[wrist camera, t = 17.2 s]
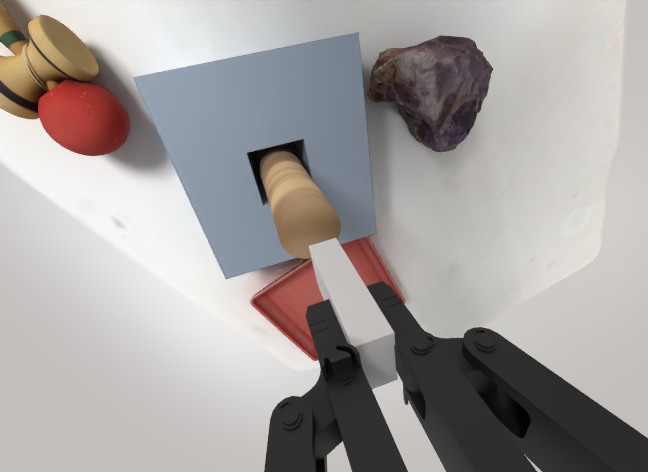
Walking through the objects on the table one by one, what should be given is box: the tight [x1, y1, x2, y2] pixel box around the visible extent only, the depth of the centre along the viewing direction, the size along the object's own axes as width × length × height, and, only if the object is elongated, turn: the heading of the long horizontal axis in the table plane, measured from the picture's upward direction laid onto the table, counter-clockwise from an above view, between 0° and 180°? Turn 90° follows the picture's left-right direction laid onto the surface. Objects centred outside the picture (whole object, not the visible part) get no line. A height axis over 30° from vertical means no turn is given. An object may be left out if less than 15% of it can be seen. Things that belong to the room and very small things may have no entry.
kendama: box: [0, 3, 130, 156], centre depth 22 cm, size 8×6×18 cm
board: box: [133, 32, 376, 279], centre depth 31 cm, size 20×18×6 cm
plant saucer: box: [250, 236, 406, 361], centre depth 45 cm, size 18×18×3 cm
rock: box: [367, 36, 493, 152], centre depth 31 cm, size 12×9×10 cm
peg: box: [256, 143, 341, 259], centre depth 26 cm, size 4×4×18 cm
